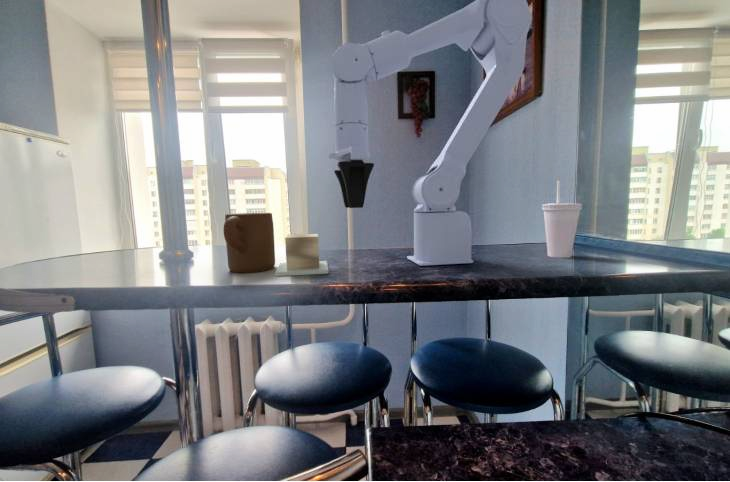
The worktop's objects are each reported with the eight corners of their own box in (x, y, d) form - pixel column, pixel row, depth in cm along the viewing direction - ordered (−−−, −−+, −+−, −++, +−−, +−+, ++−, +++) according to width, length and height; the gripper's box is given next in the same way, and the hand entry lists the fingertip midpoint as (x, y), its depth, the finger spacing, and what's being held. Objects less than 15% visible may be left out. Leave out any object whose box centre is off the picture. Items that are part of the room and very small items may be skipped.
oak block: (318, 262, 56) (317, 233, 55) (319, 268, 51) (318, 236, 50) (289, 264, 55) (287, 235, 54) (286, 269, 50) (285, 237, 50)
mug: (256, 279, 46) (252, 214, 45) (204, 280, 47) (199, 215, 46) (281, 264, 58) (278, 212, 57) (240, 265, 59) (236, 213, 58)
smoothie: (547, 252, 65) (550, 181, 63) (584, 256, 60) (588, 179, 58) (533, 256, 61) (536, 180, 59) (572, 260, 56) (576, 178, 54)
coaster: (326, 264, 58) (326, 260, 57) (328, 273, 50) (328, 269, 50) (280, 266, 56) (280, 263, 56) (275, 276, 48) (274, 272, 48)
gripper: (326, 136, 61) (328, 207, 63) (329, 114, 47) (332, 208, 48) (362, 136, 62) (364, 207, 64) (377, 115, 48) (378, 207, 50)
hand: (353, 207), depth 56 cm, fingers open, 7 cm apart
